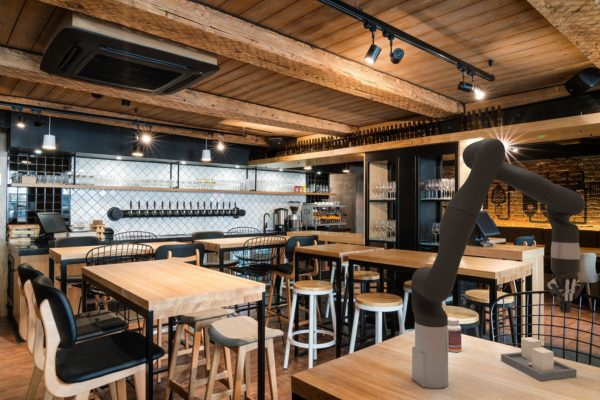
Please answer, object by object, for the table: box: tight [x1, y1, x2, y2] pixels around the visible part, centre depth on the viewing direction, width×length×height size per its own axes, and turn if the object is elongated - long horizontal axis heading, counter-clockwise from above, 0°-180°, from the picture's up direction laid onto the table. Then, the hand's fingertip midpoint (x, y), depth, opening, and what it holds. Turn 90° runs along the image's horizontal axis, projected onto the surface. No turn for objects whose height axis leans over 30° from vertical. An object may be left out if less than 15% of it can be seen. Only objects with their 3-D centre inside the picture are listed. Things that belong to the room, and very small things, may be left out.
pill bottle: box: [448, 316, 463, 353], centre depth 142 cm, size 6×6×11 cm
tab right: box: [532, 346, 555, 372], centre depth 120 cm, size 4×4×6 cm
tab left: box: [520, 336, 542, 359], centre depth 130 cm, size 4×4×6 cm
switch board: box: [500, 351, 577, 382], centre depth 125 cm, size 13×16×2 cm
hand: (565, 312), depth 122 cm, fingers closed
